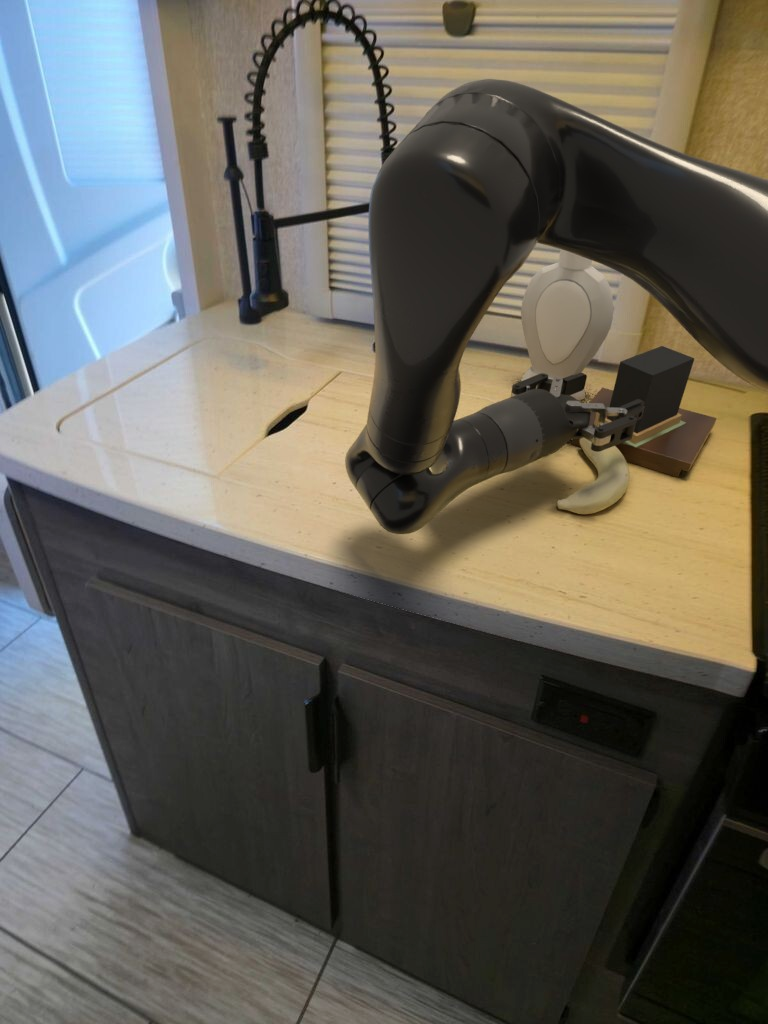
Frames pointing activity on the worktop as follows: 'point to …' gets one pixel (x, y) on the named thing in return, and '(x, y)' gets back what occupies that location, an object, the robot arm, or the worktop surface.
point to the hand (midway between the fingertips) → (610, 393)
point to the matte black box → (652, 388)
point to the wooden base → (663, 441)
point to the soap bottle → (565, 317)
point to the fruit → (600, 482)
